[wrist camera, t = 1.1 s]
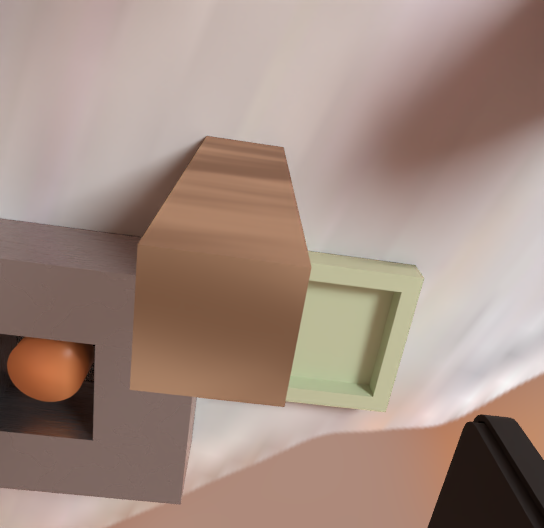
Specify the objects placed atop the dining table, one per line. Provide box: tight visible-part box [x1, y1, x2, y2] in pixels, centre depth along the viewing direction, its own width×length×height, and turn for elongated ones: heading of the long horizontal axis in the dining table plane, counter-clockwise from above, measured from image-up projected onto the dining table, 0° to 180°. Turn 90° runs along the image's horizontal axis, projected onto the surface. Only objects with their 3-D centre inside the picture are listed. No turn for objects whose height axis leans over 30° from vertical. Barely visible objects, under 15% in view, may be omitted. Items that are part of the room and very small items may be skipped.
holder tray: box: [286, 251, 424, 412], centre depth 30 cm, size 9×9×2 cm
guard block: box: [0, 219, 197, 504], centre depth 28 cm, size 14×16×5 cm
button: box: [7, 337, 95, 402], centre depth 28 cm, size 4×4×2 cm
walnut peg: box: [130, 136, 312, 407], centre depth 20 cm, size 4×4×16 cm
